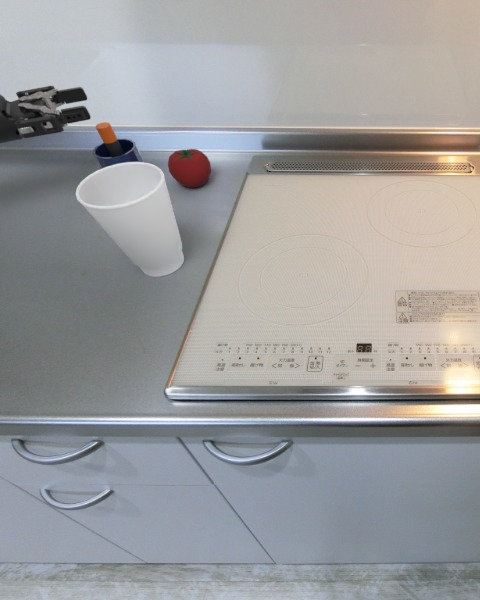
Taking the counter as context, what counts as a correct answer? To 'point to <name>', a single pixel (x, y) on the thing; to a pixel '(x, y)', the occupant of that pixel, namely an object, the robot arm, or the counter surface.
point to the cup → (135, 214)
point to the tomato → (189, 167)
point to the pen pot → (106, 159)
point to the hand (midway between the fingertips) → (86, 102)
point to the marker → (109, 139)
